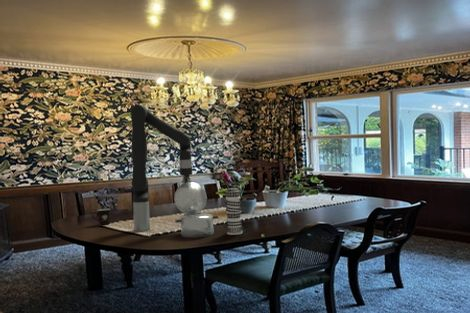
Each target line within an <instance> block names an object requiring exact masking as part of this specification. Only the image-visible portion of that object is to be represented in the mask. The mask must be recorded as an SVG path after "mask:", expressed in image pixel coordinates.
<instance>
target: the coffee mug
mask: <svg viewBox="0 0 470 313" xmlns="http://www.w3.org/2000/svg"><path fill="white" fill-rule="evenodd" d="M111 211H112V209H111V208H100V209H97V212H96V211H94V212H93V213H91V217H92V218H93V219H94V220H96V221H97V222H99V226H101V225H104V226H109V224H110V225H111V213H112V212H111ZM94 214H96V215H97V216H98V219H97V218H95V217H94V216H93V215H94Z"/></svg>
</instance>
